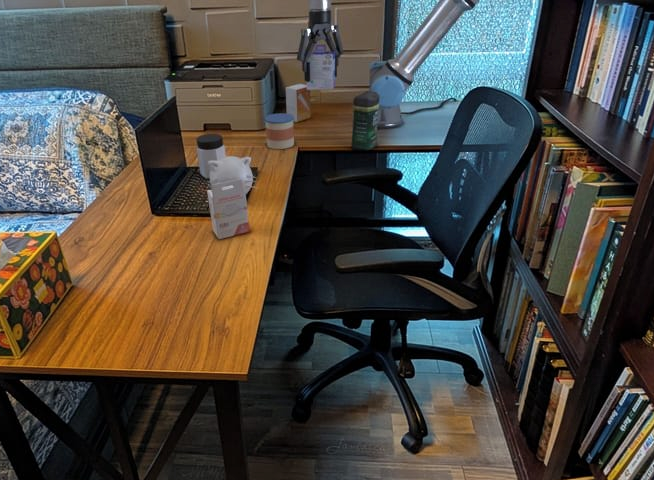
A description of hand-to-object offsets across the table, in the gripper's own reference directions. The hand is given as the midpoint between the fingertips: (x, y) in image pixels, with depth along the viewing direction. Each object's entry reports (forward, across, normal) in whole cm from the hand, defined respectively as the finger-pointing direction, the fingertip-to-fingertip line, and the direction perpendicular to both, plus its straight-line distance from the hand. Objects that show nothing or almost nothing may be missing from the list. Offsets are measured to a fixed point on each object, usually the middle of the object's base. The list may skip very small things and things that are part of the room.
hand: (320, 78), depth 179 cm
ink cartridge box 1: (+20, +60, +52) cm, 82 cm away
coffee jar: (+21, -5, +21) cm, 30 cm away
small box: (+20, -3, -22) cm, 30 cm away
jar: (+20, +49, +13) cm, 55 cm away
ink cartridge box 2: (+4, 0, 0) cm, 4 cm away
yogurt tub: (+20, +18, +1) cm, 27 cm away
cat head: (+20, +51, +33) cm, 64 cm away
